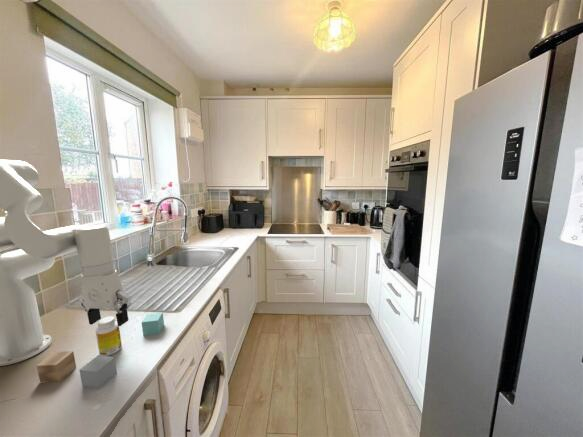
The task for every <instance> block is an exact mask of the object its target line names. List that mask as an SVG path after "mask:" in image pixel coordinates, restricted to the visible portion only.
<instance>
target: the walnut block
mask: <svg viewBox="0 0 583 437" xmlns="http://www.w3.org/2000/svg"><path fill="white" fill-rule="evenodd" d="M76 364H77V363H76V359H75V353H74V350H73V351H71V350H69V351H54V352H53V353H52V354H50V355H49V356H47V357H46V358H44V359H43V360H42V361H40V362H38V364H37V365H36V369H37V374H38V379H39V383H60V382H61V381H62V380H64V379H65V378H66V377H67V376H68V375H69V374H70V373H71V372H72V371H73V370H75V369H76V368H77V365H76Z"/></svg>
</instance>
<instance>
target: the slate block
mask: <svg viewBox="0 0 583 437" xmlns="http://www.w3.org/2000/svg"><path fill="white" fill-rule="evenodd" d="M79 373H80V379H81V380H80V381H81V385H82V387H83V388H89V389H93V390H94V389H95V390H101V389H102V388H103V387H104V386H105V385H106V384H107V383H108V382H109V381H110V380H112V379H113V378H114V377H115V376H116V375H117V365H116V360H115V356H109V355H108V356H101V355H100V354H98V355H97V356H95V357H94V358H93V359H91V361H89V362H87V363H86V364H85V365H84V366H82V367H81V368H79Z"/></svg>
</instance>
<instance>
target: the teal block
mask: <svg viewBox="0 0 583 437" xmlns="http://www.w3.org/2000/svg"><path fill="white" fill-rule="evenodd" d="M164 326H165V320H164V313H163V312H155V313H153V312H152V313H147V314H146V315H145V317H144V318H143V320H142V321H141V328H142V335H143V336H144V337H145V336H151V335H159V334H160V333H162V332H161V331H162V330H163V328H164Z"/></svg>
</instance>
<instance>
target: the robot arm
mask: <svg viewBox="0 0 583 437" xmlns="http://www.w3.org/2000/svg"><path fill="white" fill-rule="evenodd" d="M39 181H40V174H39V173H38V171H37V169H36V168H35V167H34V166H33V165H31V164H29V163H28V162H27V161H22V160H16V159H1V158H0V210H1V211H3V212H4V213H5V214H4V215H5V216H0V250H1V249H7V248H9V247H10V249H7V250H2V251H0V367H3V366H9V365H13V364H16V363H20V362H22V361H25V360H27V359H29V358H33V357H34V356H36V355H38V354H40V353H42V352H43V351H45V350H46V349H47V348H48V347H49V346H50V345H51V343H52V341H53V340H52V336H51V335H49V334H44V331H43V330H44V329H43V326H42V321H41V316H40V312H39V307H38V301H37V297H36V292H35V291H34V289H33V288H32V287H31V286H30V285H29V284H27V283H25V282H24V279H27V278H29V277H32V276H35V275H38V274H40V273H42V272H45V271H48V270H49V269H50V268H52V267H53V266H54V264H55V262H56V258H59V257H62V256H66V255H68V254H72V253H76V252H77V254H78V255H77V256H78V259H79V260H78V261H79V265H80V269H81V275H80V295H79V296H77V299H78V300H79V302H80V304H81V307H83V308H84V312H85V313H86V315H87V318H88V323H89V325H91V326H92V325H94V324H96V323H98V322H99V321H100V320H101V319H102V317H101V312H100V311H101V310H110V309H112V308H113V309H114V311H116V312H115V318H116V322H117V324H118V326H119V327H122V326H123V325H124V324H126V323H128V322H129V315H128V309H129V307H130V305H131V302H132V300H133V297H132V296H131V295H129V294H127V293H126V292H125V291H124V288H123V284H122V281H121V277H120V275H119V273H118V270H117V269H116V263H115V257H114V253H113V247H112V242H111V236H110V230H109V228H108V227H107V226H106V225H101V224H100V225H89V226H88V225H87V226H86V225H79V224H77V225H76V224H75V225H68V226H64V227H63V226H62V227H57V228H53V229H47V230H42V229H41V228H39V226H37V225H36V224H34V222H33V221H32V220H31V219H30V217H29V215H31V214H33V213H35V211H37V210H38V209H39V208H40V207H41V206H42V205H43V203H44V197H43V195H42V194H41V193H40V192H39V191H38V190H36V189H35V188H34V187H35V186H37V185H38V184H39ZM119 305H120V306H119Z"/></svg>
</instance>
